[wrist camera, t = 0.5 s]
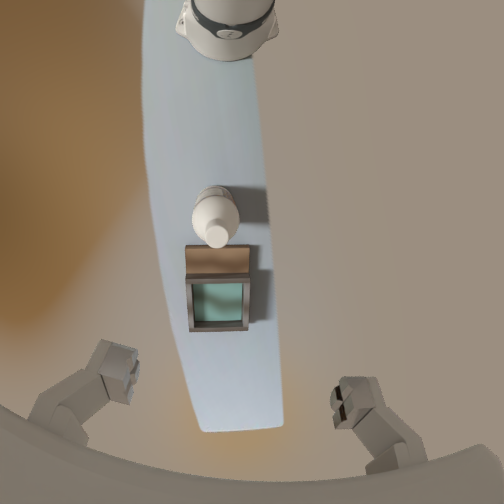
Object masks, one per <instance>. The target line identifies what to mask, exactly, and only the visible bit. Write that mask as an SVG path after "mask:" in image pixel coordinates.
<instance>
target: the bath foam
mask: <svg viewBox="0 0 504 504" xmlns="http://www.w3.org/2000/svg"><path fill="white" fill-rule="evenodd" d="M239 221H240V217H239V212H238V209H237V207H236V204H235V202H234V200H233V197H232V195H231V194H230V192H229V191H228V190H226V189H225V188H223V187H220V186H209V187H207V188H205V189H203V190H202V191H201V192H200V193H199V195H198V197H197V199H196V203H195V207H194V211H193V215H192V224H193V228H194V230H195V232H196V234H197V235H198V236H199V237H200V238H201V239H202V240H204V241H205V242H207V244H208V245H209V246H210V247H212V248H222V247H224V246H225V245H226V244H227V243H228V241H229V239H231V238H232V237H233V236H234V235H235V233H236V231H237V229H238V227H239Z"/></svg>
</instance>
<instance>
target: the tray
mask: <svg viewBox="0 0 504 504" xmlns="http://www.w3.org/2000/svg"><path fill="white" fill-rule="evenodd" d="M249 251H250V248H249V245H225V246H224V247H222V248H212V247H210V246H209V245H186V247H185V258H186V279H185V281H186V296H187V309H188V321H189V332H222V331H248V324H249V300H250V275H249Z"/></svg>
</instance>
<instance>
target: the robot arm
mask: <svg viewBox="0 0 504 504" xmlns="http://www.w3.org/2000/svg"><path fill="white" fill-rule="evenodd" d="M274 3H275V0H186V1H185V2H184V6H183V9H182V11H181V14H180V16H179V19H178V22H177V25H176V32H177V33H178V34H179V35H181V36H183V37H185V38H187V39H188V40H189V41H190V43H191V44H192V46H193V47H194V48H195V49H196V50H197V51H198V52H199V53H201V54H202V55H204V56H206V57H208V58H211V59H214V60H219V61H234V60H239V59H242V58H245V57H247V56H249V55H251V54H253V53H254V52H255V51H257V50H258V49H259V48H260V46H261V45H262V44H263V43H264V42H266V41H268V40H270V39H272V38H274V37H276V36H277V35H278V33H279V29H278V24H277V19H276V15H275V10H274ZM183 22H184V24H182V23H183ZM137 356H138V350H137V349H135V348H131V347H127V346H124V345H121V344H117V343H114V342H110V341H107V340H103V339H101V340H100V341H99V342H98V344H97V346H96V348H95V350H94V352H93V354H92V356H91V358H90V360H89V362H88V364H87V366H86V368H85V370H84V369H80V370H79V371H77V372H76V373H74V374H72V375H71V376H69V377H67V378H66V379H64V380H62V381H61V382H59V383H57V384H56V385H54V386H52V387H51V388H49V389H47V390H46V391H44V392H42V393H41V394H39V396H38V398H37V400H36V402H35V404H34V407H33V409H32V411H31V413H30V415H29V417H28V419H27V420H26V419H25V418H23V417H21V416H19V415H17V414H16V413H14V412H12V411H10V410H9V409H7V408H5V407H4V406H2V405H0V504H504V470H503V467H502V464H501V461H500V460H499V458H498V457H497V456H496V455H495V454H494V453H493V452H492V451H491V450H490V449H489V448H488V447H486V446H485V445H483V444H477V445H474V446H472V447H469V448H466V449H464V450H461V451H458V452H456V453H453V454H450V455H447V456H444V457H441V458H438V459H434V460H431V461H428V459H427V455H426V452H425V448H424V445H423V442H422V439H421V437H420V436H419V435H418V434H417V433H416V432H415V431H413V430H412V429H411V428H410V427H409V426H408V425H407V424H406V423H405V422H404V421H403V420H402V419H401V418H400V417H399V416H398V415H396V413H395V412H393V411H392V410H391V409H390V408H389V407H386V405H385V402H384V398H383V395H382V392H381V389H380V386H379V383H378V380H377V378H376V377H346V376H344V377H342V378H341V379H340V380H339V385H338V386H336V387H335V388H334V389H333V391H332V393H331V397H330V405H331V408H332V409H333V410H334V411H335V413H334V415H333V421H334V427H335V429H352V430H353V432H354V433H355V434H356V436H357V437H358V438H359V439H360V441H361V442H362V443H363V445H364V446H365V447H366V448H367V450H368V451H369V452H370V454H371V455H372V456H373V457H374V460H372V461H371V462H370V463H368V464H367V465H366V467H365V469H366V475H363V476H356V477H349V478H341V479H330V480H318V481H298V482H263V481H243V480H230V479H221V478H212V477H204V476H197V475H191V474H185V473H179V472H174V471H169V470H164V469H160V468H155V467H151V466H147V465H143V464H139V463H135V462H132V461H128V460H125V459H121V458H118V457H115V456H112V455H109V454H106V453H103V452H100V451H97V450H94V449H91V448H89V447H86V446H87V442H88V439H89V437H88V435H87V433H86V432H85V431H84V429H83V428H82V426H81V425H82V424H83V423H84V422H85V421H86V420H88V419H89V418H90V417H91V416H93V415H94V414H95V413H96V412H97V411H99V410H100V409H101V408H102V407H103V406H105V405H106V404H107V403H108V402H109V401H110V400H112V401H115V402H119V403H123V404H127V405H130V402H131V399H132V395H133V393H134V392H133V387H132V386H133V385H134V384H136V383H137V380H138V376H139V371H140V364H139V361H138V360H137Z"/></svg>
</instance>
